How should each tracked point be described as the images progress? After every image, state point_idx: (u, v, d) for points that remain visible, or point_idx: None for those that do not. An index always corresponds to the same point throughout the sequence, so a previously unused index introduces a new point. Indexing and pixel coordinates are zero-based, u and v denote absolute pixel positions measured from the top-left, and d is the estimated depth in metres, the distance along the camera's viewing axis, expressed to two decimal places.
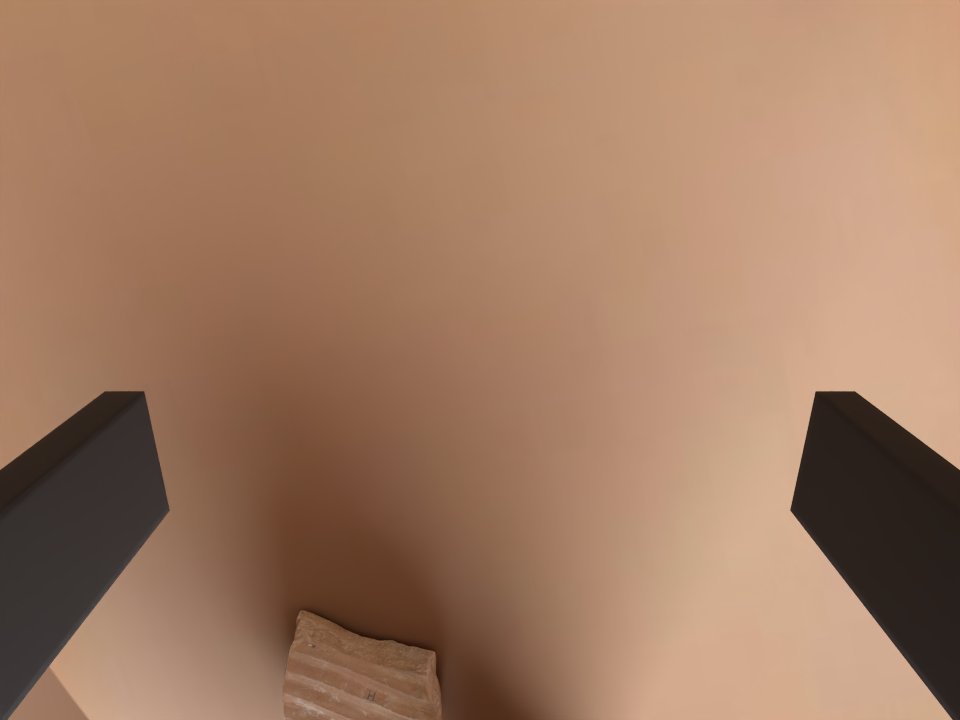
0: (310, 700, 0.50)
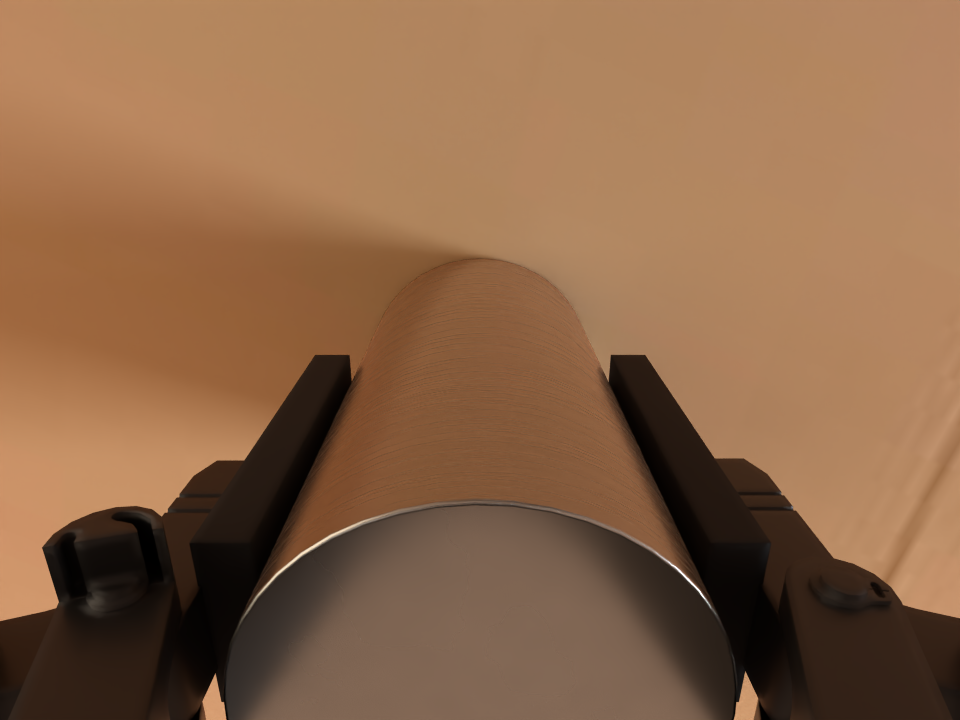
0: None
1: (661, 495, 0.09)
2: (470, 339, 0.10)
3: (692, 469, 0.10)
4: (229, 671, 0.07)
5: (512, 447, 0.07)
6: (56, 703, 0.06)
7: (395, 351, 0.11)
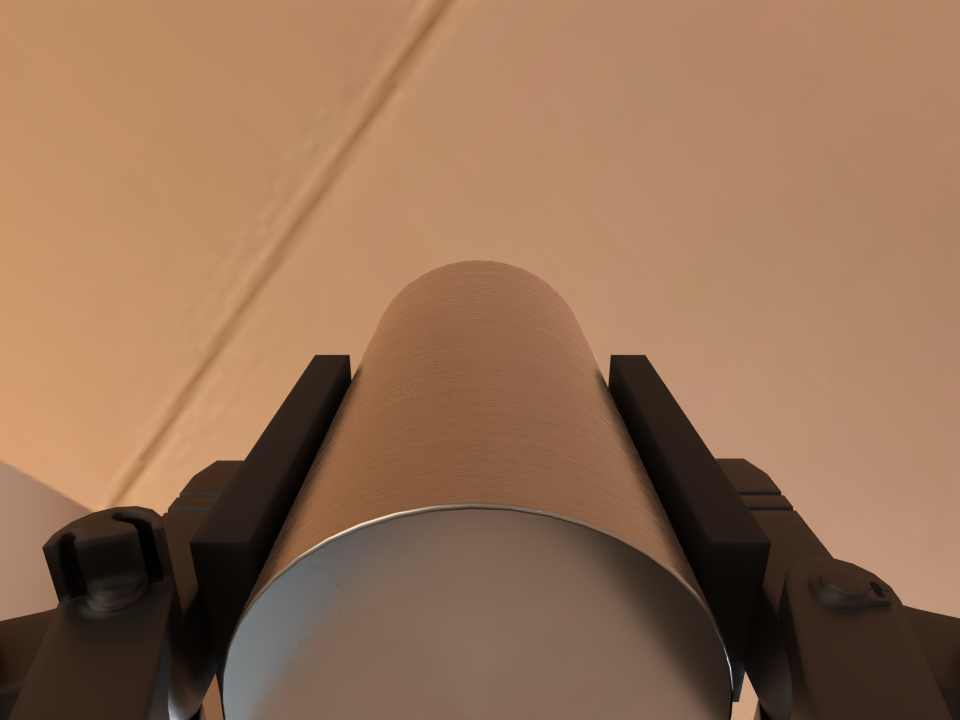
0: None
1: (658, 498, 0.09)
2: (467, 342, 0.10)
3: (692, 469, 0.10)
4: (226, 673, 0.07)
5: (510, 451, 0.07)
6: (55, 704, 0.06)
7: (393, 353, 0.11)
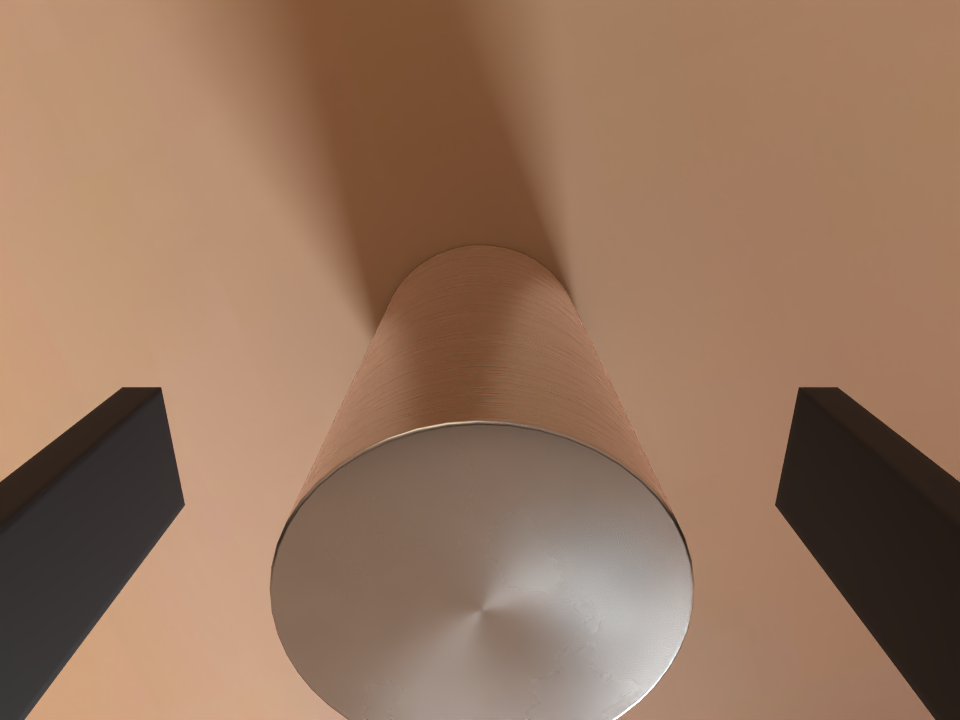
0: None
1: None
2: (472, 309, 0.12)
3: None
4: (275, 569, 0.08)
5: (508, 386, 0.09)
6: None
7: (406, 320, 0.12)
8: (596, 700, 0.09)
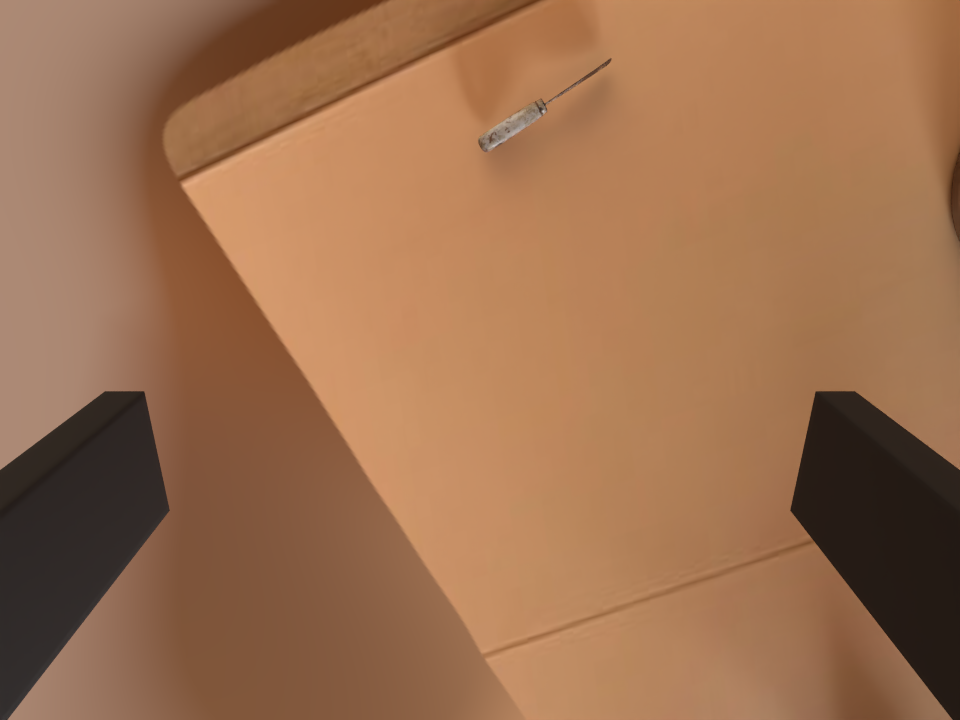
0: None
1: None
2: None
3: None
4: None
5: None
6: None
7: None
8: None
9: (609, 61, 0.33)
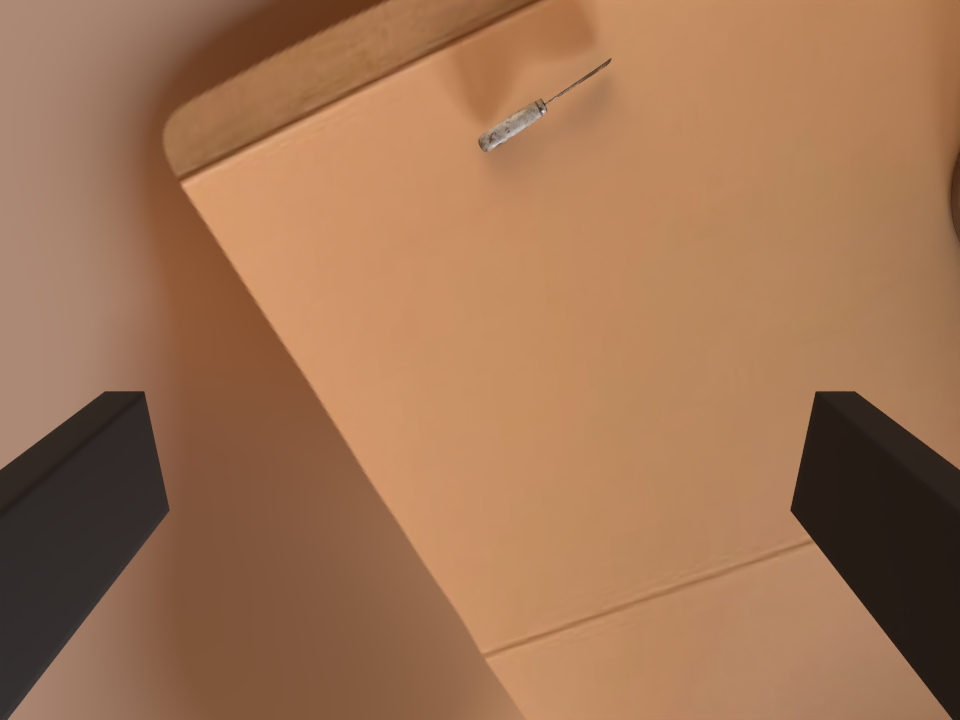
0: None
1: None
2: None
3: None
4: None
5: None
6: None
7: None
8: None
9: (609, 61, 0.33)
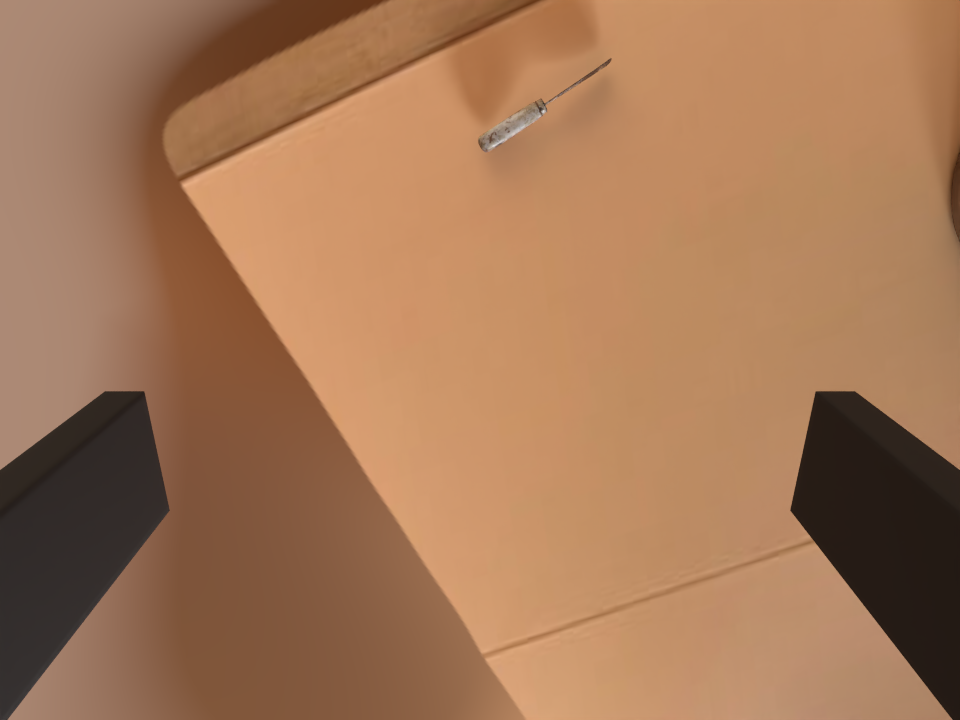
0: None
1: None
2: None
3: None
4: None
5: None
6: None
7: None
8: None
9: (609, 61, 0.33)
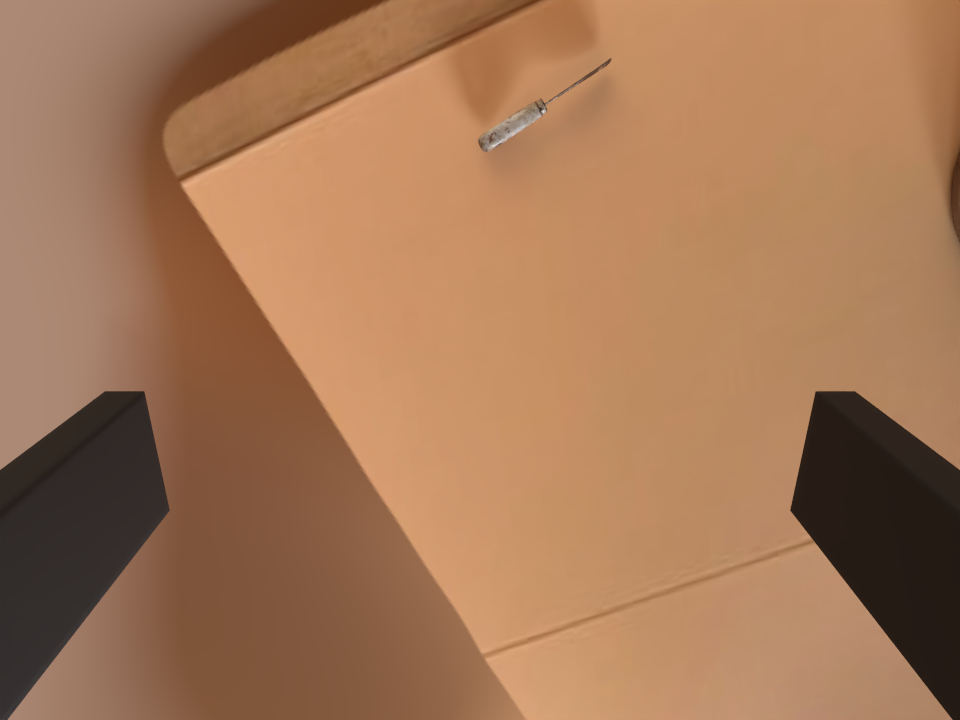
0: None
1: None
2: None
3: None
4: None
5: None
6: None
7: None
8: None
9: (609, 61, 0.33)
